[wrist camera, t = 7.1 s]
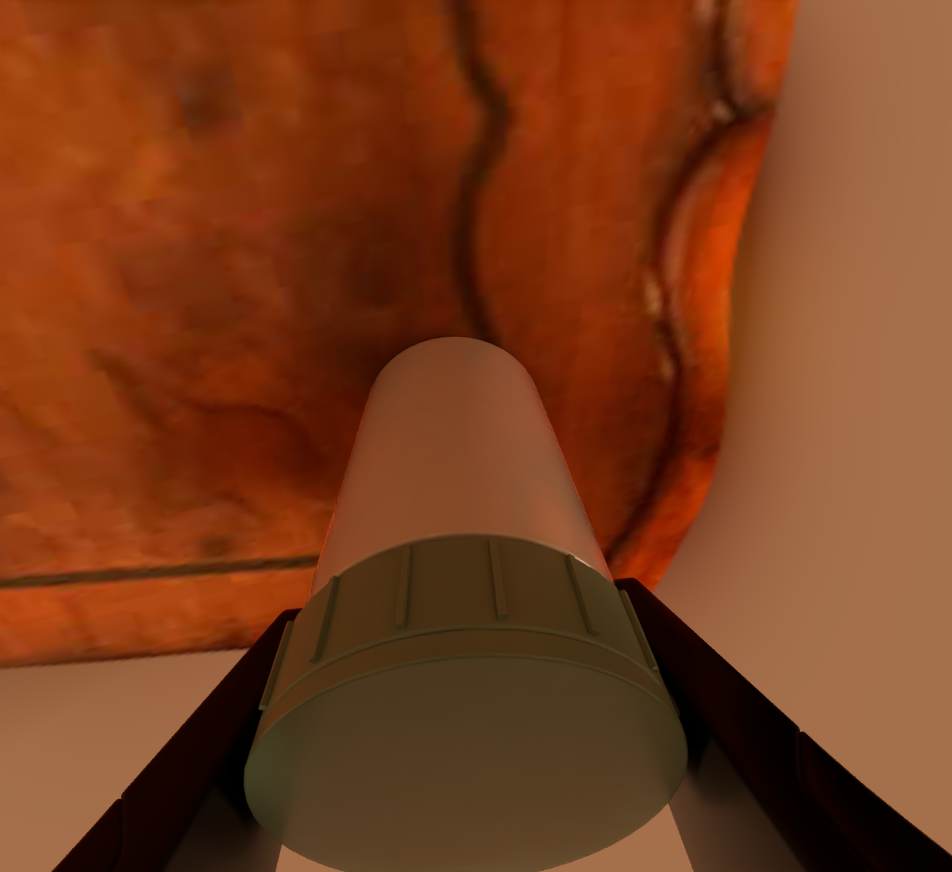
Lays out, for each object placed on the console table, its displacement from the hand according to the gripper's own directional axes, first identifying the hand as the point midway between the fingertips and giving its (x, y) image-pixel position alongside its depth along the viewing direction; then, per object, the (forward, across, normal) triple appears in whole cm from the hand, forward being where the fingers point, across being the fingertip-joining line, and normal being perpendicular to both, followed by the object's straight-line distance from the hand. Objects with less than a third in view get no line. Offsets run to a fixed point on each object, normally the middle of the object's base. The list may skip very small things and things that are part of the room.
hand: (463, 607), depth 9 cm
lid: (-3, 0, 0) cm, 3 cm away
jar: (+7, 0, 0) cm, 7 cm away
